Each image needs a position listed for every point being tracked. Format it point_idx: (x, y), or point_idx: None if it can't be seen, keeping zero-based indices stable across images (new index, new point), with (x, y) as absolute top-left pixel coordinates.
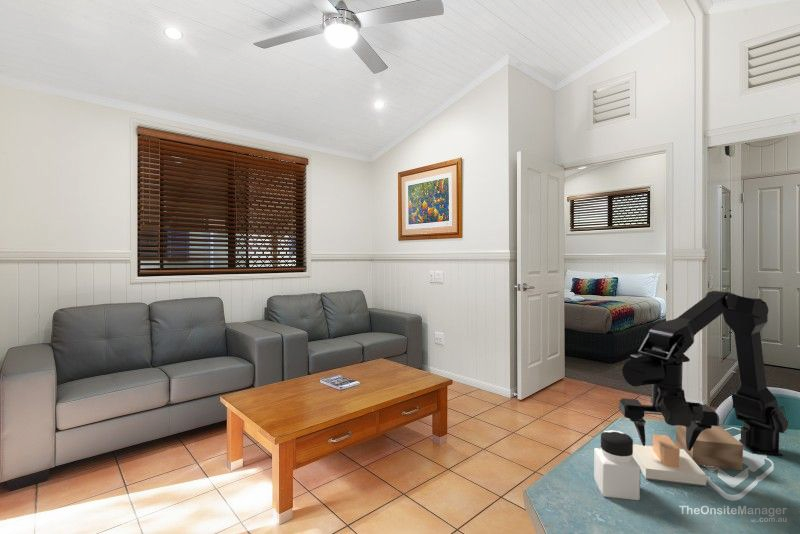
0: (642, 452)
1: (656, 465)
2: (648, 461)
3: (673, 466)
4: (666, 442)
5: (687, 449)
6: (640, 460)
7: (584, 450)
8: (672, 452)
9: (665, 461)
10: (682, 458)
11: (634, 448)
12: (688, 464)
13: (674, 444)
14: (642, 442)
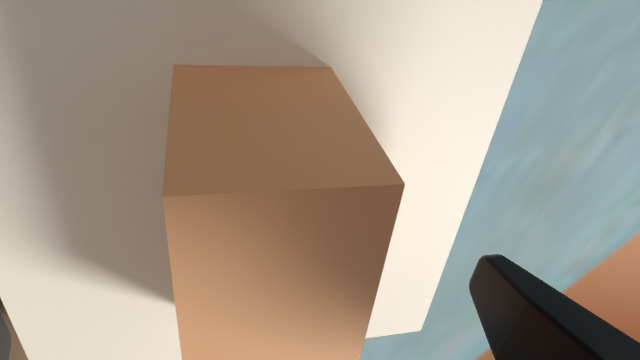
0: (403, 249)
1: (412, 46)
2: (441, 114)
3: (234, 67)
4: (283, 340)
5: (5, 323)
6: (490, 125)
7: (619, 241)
8: (271, 155)
9: (329, 85)
10: (86, 247)
11: (430, 284)
12: (47, 148)
13: (190, 325)
14: (535, 279)
